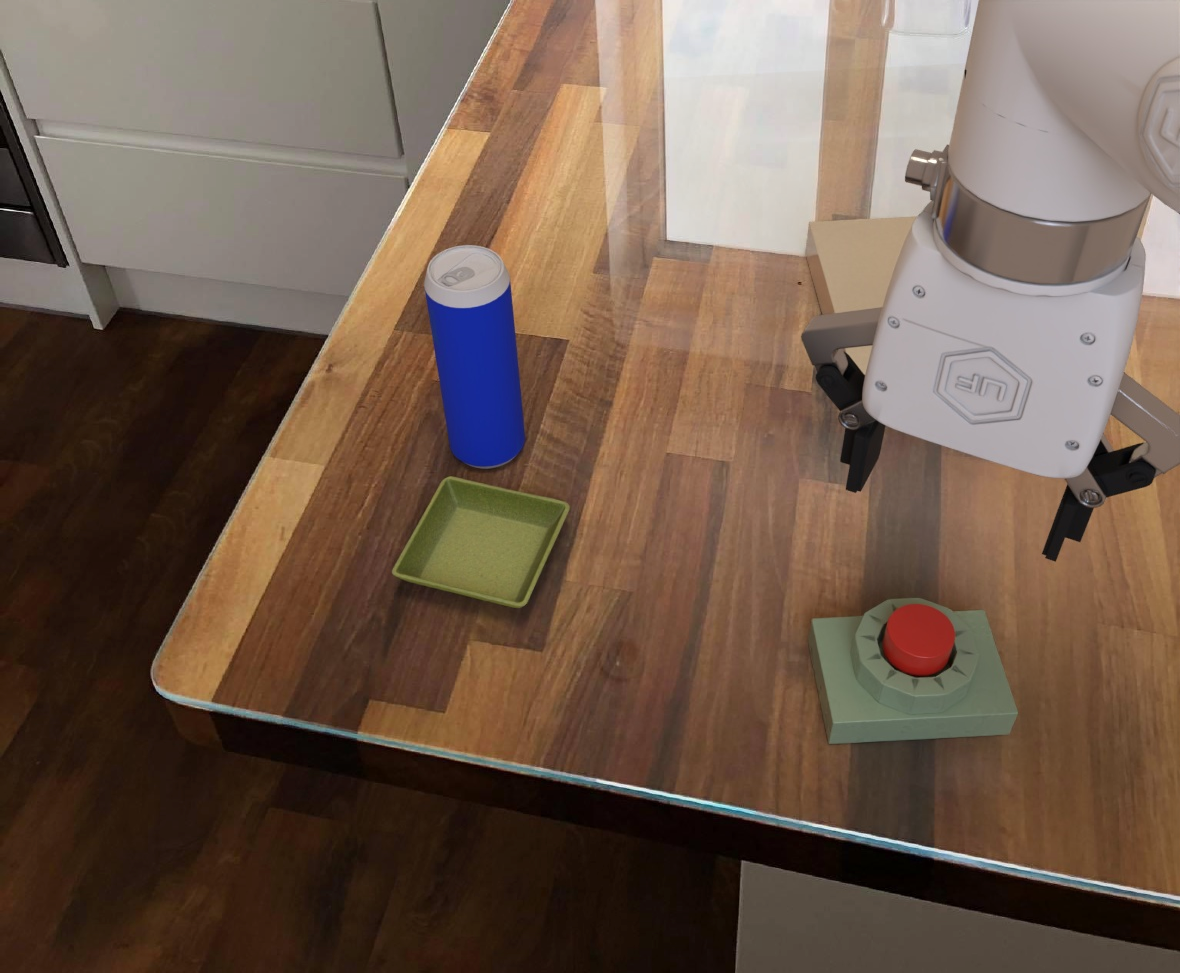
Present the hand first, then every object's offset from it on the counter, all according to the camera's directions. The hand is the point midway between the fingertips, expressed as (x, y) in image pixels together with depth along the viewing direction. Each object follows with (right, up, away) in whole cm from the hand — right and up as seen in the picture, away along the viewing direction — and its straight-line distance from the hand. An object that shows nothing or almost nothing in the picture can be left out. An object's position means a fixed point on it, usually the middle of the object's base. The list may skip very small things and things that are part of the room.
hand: (956, 505), depth 60 cm
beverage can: (-25, +4, +24) cm, 35 cm away
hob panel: (+7, +13, +32) cm, 35 cm away
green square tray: (-24, -4, +17) cm, 30 cm away
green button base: (0, -10, +10) cm, 14 cm away
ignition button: (0, -8, +7) cm, 11 cm away
